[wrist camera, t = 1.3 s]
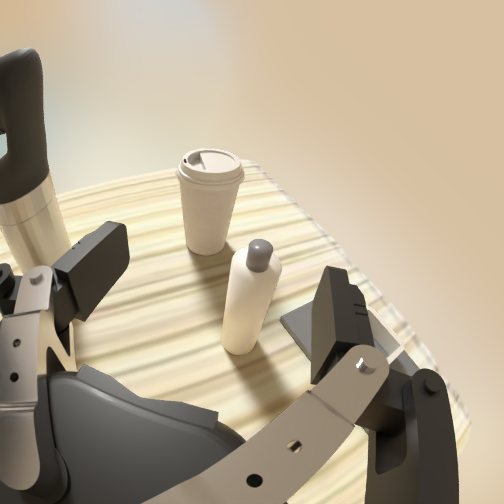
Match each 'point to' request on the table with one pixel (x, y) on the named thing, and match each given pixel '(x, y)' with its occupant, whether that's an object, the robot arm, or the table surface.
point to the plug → (249, 295)
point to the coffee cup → (208, 197)
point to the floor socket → (381, 331)
